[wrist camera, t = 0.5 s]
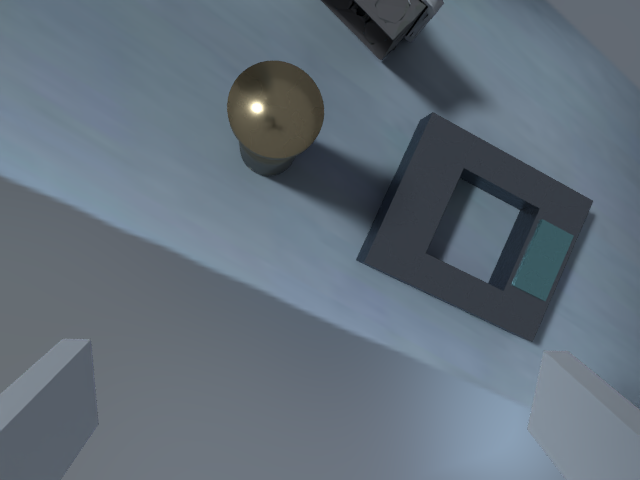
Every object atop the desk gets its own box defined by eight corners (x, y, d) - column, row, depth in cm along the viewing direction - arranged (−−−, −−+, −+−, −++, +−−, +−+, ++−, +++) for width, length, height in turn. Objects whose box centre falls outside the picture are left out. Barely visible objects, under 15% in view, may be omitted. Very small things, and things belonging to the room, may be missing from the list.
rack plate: (356, 260, 35) (364, 262, 32) (420, 120, 35) (433, 111, 33) (513, 334, 37) (533, 342, 35) (570, 202, 38) (595, 200, 35)
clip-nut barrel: (225, 126, 33) (212, 76, 22) (287, 107, 34) (305, 49, 23) (248, 189, 33) (247, 170, 22) (309, 168, 34) (337, 140, 23)
